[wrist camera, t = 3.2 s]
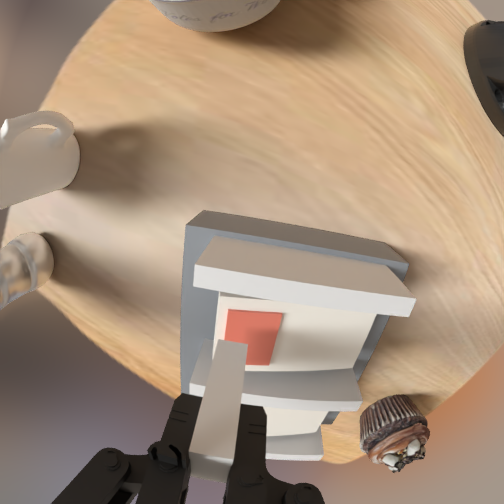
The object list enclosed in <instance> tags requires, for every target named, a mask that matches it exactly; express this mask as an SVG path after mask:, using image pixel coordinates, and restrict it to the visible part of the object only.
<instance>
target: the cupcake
mask: <svg viewBox="0 0 504 504" xmlns="http://www.w3.org/2000/svg"><path fill="white" fill-rule="evenodd" d="M429 435H430V431H429V429H428V428H427V420H426V418H425V417H424V416H423V415H422V413H421V412H420V411H419V410H418V409H417V407H416V406H415V405H414V404H413V402H412V401H411V400H410V399H409V398H408V397H407V396H405V395H393V396H389V397H386V398H383V399H381V400H378V401H377V402H376V403H374V404H372V405H370V406H369V407H368V408H367V409H366V410H365V411H364V412H363V413H362V415H361V416H360V449H361V451H362V452H364V453H367V454H368V457H369V459H370V460H371V461H372V462H374V463H377V464H383V463H385V465H387V466H389V469H390V470H393V471H392V472H393V473H394V472H396V471H398V472H400V470H401V469H402V468H403V467H404V466H405V464H409V463H411V462H412V461H413V460H418V459H423V458H424V456H425V455H424V454H425V452H426V451H425V447H424V445H425V444H426V442H427V440H428V439H429Z"/></svg>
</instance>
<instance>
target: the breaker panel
mask: <svg viewBox="0 0 504 504" xmlns="http://www.w3.org/2000/svg"><path fill="white" fill-rule="evenodd" d="M408 267H409V263H408V262H407V261H406V260H404V259H403V258H402V257H401V256H400V255H399V254H397V253H396V252H395V251H394V250H393V249H392V248H390V247H389V246H388V245H387V244H386V243H383V242H378V241H374V240H369V239H364V238H359V237H354V236H349V235H344V234H339V233H334V232H329V231H324V230H318V229H313V228H308V227H302V226H297V225H291V224H285V223H280V222H274V221H268V220H262V219H256V218H250V217H244V216H238V215H231V214H225V213H219V212H212V211H205V210H203V211H202V212H201V213H199V214H198V215H197V216H196V217H195V218H193V219H192V220H191V221H190V222H189V223H187V224H186V228H185V241H184V255H183V272H182V294H181V334H180V364H181V394H182V393H185V394H190V395H194V396H199V397H203V395H204V391H205V387H206V383H207V380H208V376H209V372H210V368H211V365H212V358H213V344H214V334H215V324H216V315H217V305H218V296H219V291H221V292H226V293H232V294H238V295H244V296H250V297H256V298H262V299H268V300H274V301H281V302H288V303H294V304H301V305H308V306H316V307H323V308H331V309H339V310H347V311H355V312H364V313H373V314H377V315H376V317H375V319H374V322H373V324H372V326H371V329H370V331H369V333H368V336H367V338H366V340H365V342H364V345H363V347H362V349H361V351H360V353H359V355H358V357H357V359H356V361H355V363H354V366H353V368H346V369H333V370H315V371H245V373H244V381H243V389H242V398H241V404H248V405H255V406H263V407H270V408H280V409H292V410H308V411H329V412H328V413H327V415H326V417H325V418H324V420H323V421H322V423H321V424H332V423H333V421H334V420H335V418H336V417H337V415H338V414H339V412H340V411H357V410H358V408H359V407H360V405H361V404H362V402H363V399H362V396H361V392H360V389H359V386H358V383H357V382H358V380H359V378H360V376H361V374H362V373H363V371H364V369H365V367H366V365H367V363H368V361H369V359H370V357H371V355H372V353H373V351H374V349H375V347H376V345H377V343H378V341H379V339H380V337H381V334H382V332H383V330H384V328H385V326H386V323H387V321H388V319H389V316H390V315H392V316H403V317H409V316H410V313H411V311H412V309H413V307H414V304H415V302H416V299H417V298H416V297H415V296H414V295H413V294H412V293H411V292H410V291H409V289H408V288H407V287H406V286H405V285H404V284H403V281H404V278H405V275H406V272H407V269H408ZM323 456H324V452H323V443H322V435H321V427H320V426H319V428H318V429H317V431H316V432H313V433H305V434H294V435H282V436H266V459H279V460H320V459H321V458H322V457H323Z"/></svg>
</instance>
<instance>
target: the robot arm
mask: <svg viewBox="0 0 504 504" xmlns="http://www.w3.org/2000/svg"><path fill="white" fill-rule="evenodd" d="M464 55H465V60H466V65H467V69H468V72H469V75H470V78H471V81H472V84H473V86H474V89H475V91H476V93H477V96H478V98H479V100H480V102H481V104H482V106H483V108H484V109H485V111H486V113H487V115H488V116H489V118H490V119H491V121H492V122H493V124H494V125H495V126H496V128H497V129H498V130H499V131H500V133H501V134H502V135H503V136H504V22H503V21H498V22H495V21H490V20H486V21H481V22H479V23H477V24H475V25H473V26H471V27H469V28H468V29H467V31H466V33H465V36H464ZM247 348H248V344H244V343H238V342H232V341H226V340H221V339H218V342H217V346H216V350H215V354H214V357H213V361H212V365H211V368H210V372H209V376H208V380H207V383H206V387H205V391H204V395H203V397H199V396H194V395H190V394H185V393H182V394H181V395H180V396H179V397H178V398H177V399H176V400H175V401H174V404H173V407H172V410H171V412H170V415H169V419H168V421H167V424H166V427H165V430H164V432H163V435H162V438H161V441H158V442H155V443H154V444H152V445H151V446H150V447H149V448H148V450H147V451H148V454H147V455H127V454H124V453H123V452H121V451H120V450H117V449H115V448H105V449H102V450H101V451H99V452H98V453H97V454H96V455H95V456H94V457H93V458H92V459H91V460H90V461H89V463H88V464H87V465H86V466H85V467H84V468H83V469H82V470H81V471H80V473H79V474H78V475H77V476H76V477H75V478H74V479H73V480H72V481H71V482H70V484H69V485H68V486H67V487H66V488H65V489H64V490H63V491H62V492H61V494H60V495H59V496H58V497H57V498H56V499H55V500H54V501H53V502H52V504H130V503H131V502H132V500H133V499H134V497H135V496H136V495H137V493H139V495H138V498H137V501H136V504H185V501H186V496H187V492H188V483H189V478H190V476H191V477H196V478H201V479H206V480H211V481H217V482H224V483H226V490H225V494H224V497H223V504H325V502H324V501H323V497H322V495H321V492H320V491H319V489H318V488H317V487H315V486H314V485H312V484H308V483H298V484H296V485H293V484H289V483H286V482H283V481H280V480H278V479H276V478H274V477H273V476H271V475H270V474H269V472H268V471H267V468H266V463H265V461H266V434H267V415H266V412H265V410H264V408H263V406H255V405H248V404H241V398H242V389H243V381H244V373H245V365H246V357H247Z"/></svg>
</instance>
